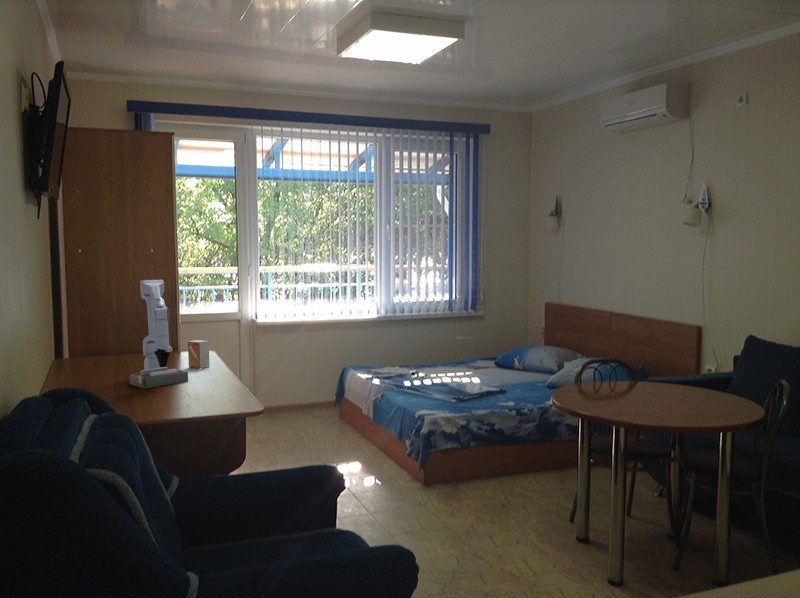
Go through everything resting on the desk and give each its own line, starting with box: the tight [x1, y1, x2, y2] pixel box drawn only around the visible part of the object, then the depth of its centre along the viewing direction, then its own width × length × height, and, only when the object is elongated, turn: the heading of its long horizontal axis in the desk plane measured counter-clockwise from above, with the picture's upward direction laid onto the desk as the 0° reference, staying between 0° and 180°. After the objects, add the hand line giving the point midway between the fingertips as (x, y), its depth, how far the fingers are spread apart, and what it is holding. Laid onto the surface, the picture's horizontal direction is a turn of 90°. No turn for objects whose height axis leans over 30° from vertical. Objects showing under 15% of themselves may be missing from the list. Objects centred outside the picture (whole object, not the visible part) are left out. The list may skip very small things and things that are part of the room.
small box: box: [187, 339, 210, 369], centre depth 331 cm, size 8×6×13 cm
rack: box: [129, 366, 189, 389], centre depth 294 cm, size 14×20×6 cm, turn 135°
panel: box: [149, 368, 178, 377], centre depth 291 cm, size 12×2×5 cm, turn 134°
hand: (163, 367), depth 291 cm, fingers closed
